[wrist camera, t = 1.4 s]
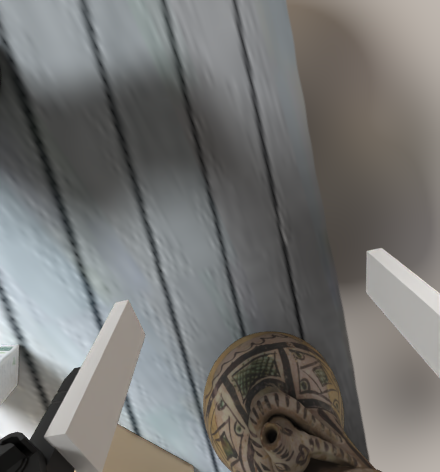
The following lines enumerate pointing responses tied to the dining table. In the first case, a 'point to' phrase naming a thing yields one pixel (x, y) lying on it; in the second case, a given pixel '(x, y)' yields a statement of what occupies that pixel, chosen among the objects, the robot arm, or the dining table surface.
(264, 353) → the decorative pitcher
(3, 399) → the syrup box
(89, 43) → the dining table surface
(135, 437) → the carton
